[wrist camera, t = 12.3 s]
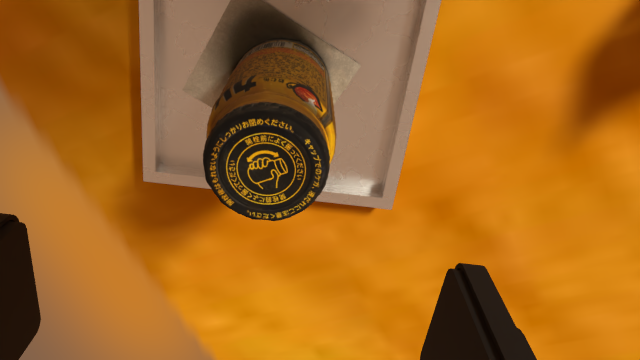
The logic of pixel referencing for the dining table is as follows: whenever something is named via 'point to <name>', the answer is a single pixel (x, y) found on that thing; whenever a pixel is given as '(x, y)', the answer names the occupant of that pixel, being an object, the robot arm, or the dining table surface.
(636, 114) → the dining table surface
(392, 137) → the tray
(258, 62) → the condiment
